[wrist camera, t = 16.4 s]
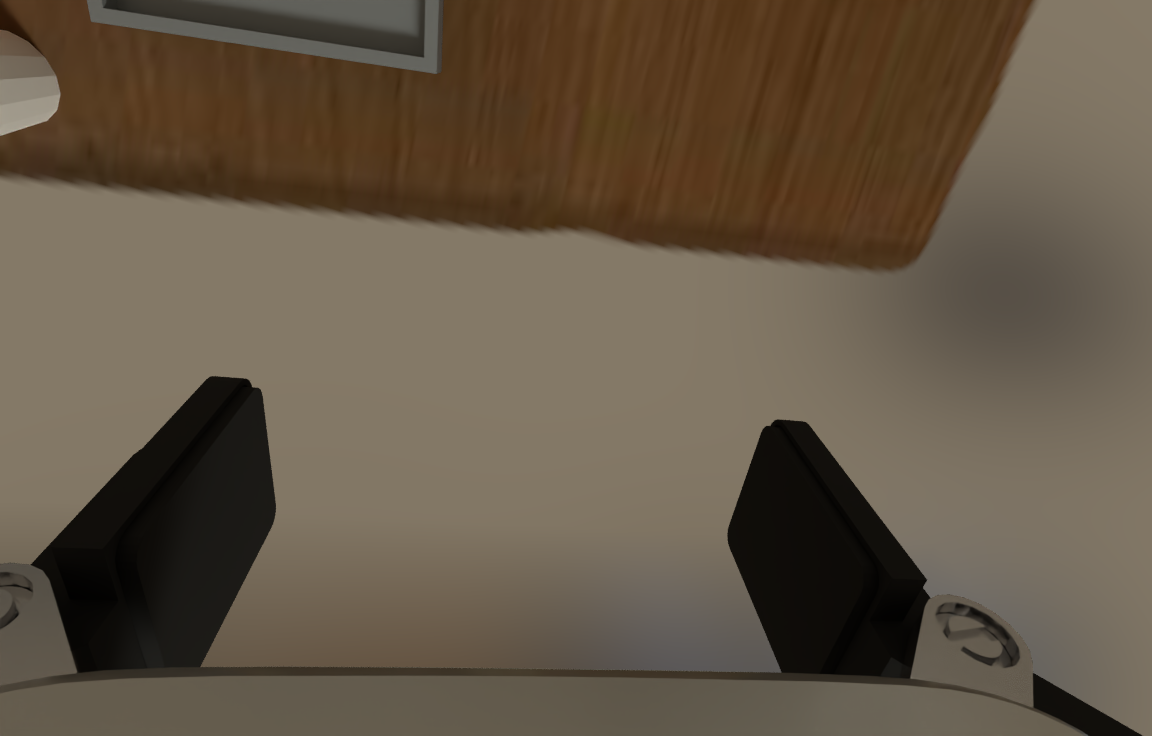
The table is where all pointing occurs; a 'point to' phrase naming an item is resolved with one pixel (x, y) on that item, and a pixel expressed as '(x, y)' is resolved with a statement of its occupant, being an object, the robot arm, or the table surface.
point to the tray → (298, 26)
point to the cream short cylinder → (24, 85)
